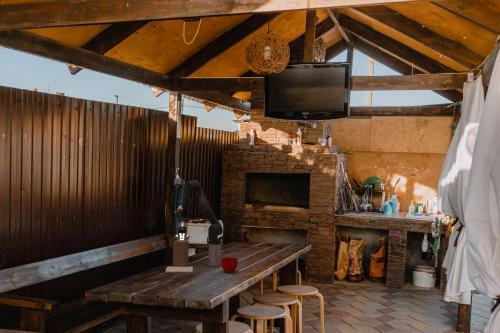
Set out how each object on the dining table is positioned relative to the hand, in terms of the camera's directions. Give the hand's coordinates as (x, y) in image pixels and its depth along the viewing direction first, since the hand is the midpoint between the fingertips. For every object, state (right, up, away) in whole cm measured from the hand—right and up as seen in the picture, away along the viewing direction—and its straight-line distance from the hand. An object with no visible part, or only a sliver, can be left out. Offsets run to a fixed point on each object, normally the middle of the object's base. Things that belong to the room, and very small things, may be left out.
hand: (181, 245), depth 417 cm
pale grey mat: (+2, -15, -26) cm, 30 cm away
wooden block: (+1, -15, -10) cm, 18 cm away
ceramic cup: (+41, -16, -33) cm, 55 cm away
